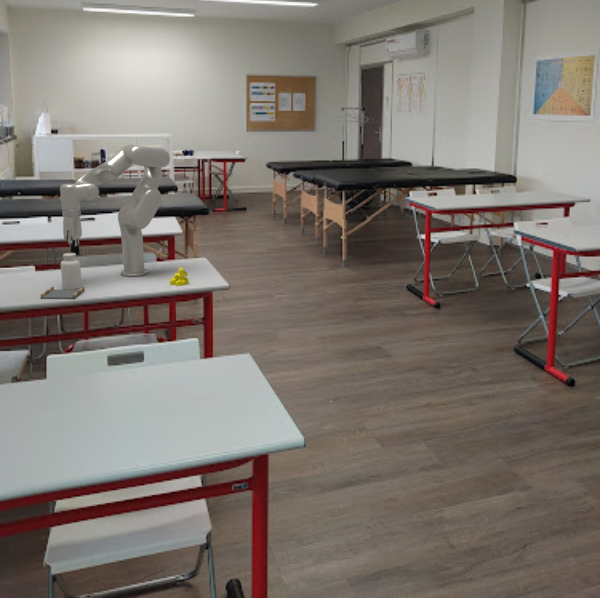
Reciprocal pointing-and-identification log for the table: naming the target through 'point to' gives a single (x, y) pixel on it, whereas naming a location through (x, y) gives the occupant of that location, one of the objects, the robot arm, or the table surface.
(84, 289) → the rails
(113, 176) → the robot arm
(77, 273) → the pill bottle
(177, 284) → the yellow lumpy pyramid
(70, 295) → the grey tray
